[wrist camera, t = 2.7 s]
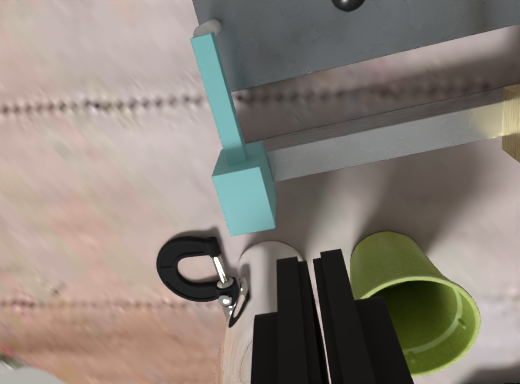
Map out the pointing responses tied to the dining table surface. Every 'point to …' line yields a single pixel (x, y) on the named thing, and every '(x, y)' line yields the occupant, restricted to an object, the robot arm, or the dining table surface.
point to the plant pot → (416, 301)
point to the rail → (386, 135)
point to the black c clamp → (198, 292)
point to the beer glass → (250, 309)
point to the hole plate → (337, 31)
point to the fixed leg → (511, 121)
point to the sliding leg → (234, 147)
